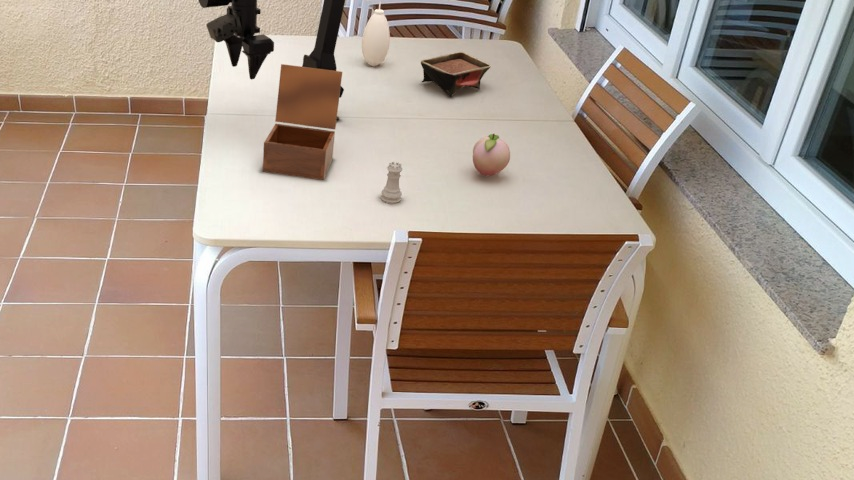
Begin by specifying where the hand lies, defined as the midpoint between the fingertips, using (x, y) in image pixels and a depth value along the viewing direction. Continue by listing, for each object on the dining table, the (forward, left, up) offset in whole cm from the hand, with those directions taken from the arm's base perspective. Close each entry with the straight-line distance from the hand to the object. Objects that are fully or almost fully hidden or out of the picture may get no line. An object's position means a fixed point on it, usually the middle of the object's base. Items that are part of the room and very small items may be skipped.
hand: (243, 72), depth 223 cm
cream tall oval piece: (-53, -37, -14) cm, 66 cm away
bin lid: (-9, +17, 0) cm, 19 cm away
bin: (-5, +23, -14) cm, 27 cm away
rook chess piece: (-17, +44, -14) cm, 50 cm away
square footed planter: (-66, -15, -14) cm, 69 cm away
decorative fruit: (-44, +39, -14) cm, 61 cm away
